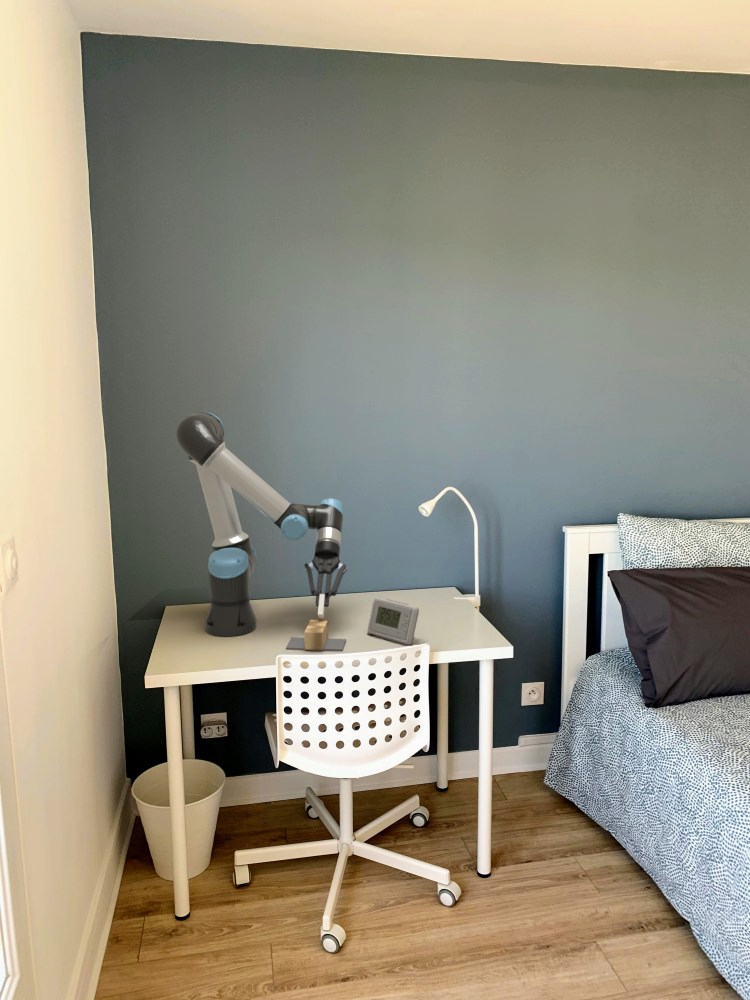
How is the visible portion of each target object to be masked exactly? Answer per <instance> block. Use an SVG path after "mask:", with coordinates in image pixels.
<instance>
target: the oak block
mask: <svg viewBox="0 0 750 1000" xmlns="http://www.w3.org/2000/svg"><path fill="white" fill-rule="evenodd" d="M328 621H329V620H327V619H326V620H325V619H310V620H309V622H308V625H307V626H306V628H305V629H304V638H305V649H312V650H311V651H320V650H323V648H324V645H325V643H326V640H327V638H329V635H328V634H329V629H328V628H329V627H328V626H329V624H328V623H329V622H328Z"/></svg>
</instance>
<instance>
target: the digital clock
mask: <svg viewBox="0 0 750 1000" xmlns="http://www.w3.org/2000/svg"><path fill="white" fill-rule="evenodd" d="M419 611H420V609H419V608H418V607H417V606H414V605H411V604H409V603H405V602H404V603H403V602H400V601H396V600H393V599H389V598H388V599H387V598H382V597H379V596H378V597H377V596H376V597H375V598H374V599H373V603H372V607H371V612H370V617H369V620H368V621H369V622H368V624H367V633H368V634H369V635H372V636H374V637H377V638H380V639H383V640H387V641H390V642H393V643H398V644H403V645H407V646H409V645H411V644H412V643H413V640H414V637H415V636H414V635H415V632H416V627H417V622H418V618H419V614H420V613H419Z"/></svg>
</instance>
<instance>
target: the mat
mask: <svg viewBox="0 0 750 1000" xmlns="http://www.w3.org/2000/svg"><path fill="white" fill-rule="evenodd" d="M346 642H347V638H329V637H328V638H327V640H326V643H325V645H324V648H323V650H319V651H320V652H322V651H326V652H327V651H329V652H343V651H344V648H345V645H346ZM289 649H290V650H289ZM285 650H289V651H291V650H292V651H293V650H294V651H298V650H299V651H313V650H312V649H305V637H290V640H289V641H288V643H287V645H286V647H285Z"/></svg>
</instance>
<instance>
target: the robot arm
mask: <svg viewBox="0 0 750 1000" xmlns="http://www.w3.org/2000/svg"><path fill="white" fill-rule="evenodd" d="M224 436H225V429H224V424H223V422H222V420H221V419H220V418H219V417H218V416H216V415H215V414H213V413H212V412H208V411H207V412H206V411H199V412H195V413H192V414H190V415H188V416H185V417H184V418H182V419H181V420H180V422H179V423H178V425H177V426H176V429H175V440H176V442H177V445H178V446H179V447H180V448H181V450H182V451H183V452H184V453H185V454H186V455H187V456H188V461H189V462H191V463H192V464H194V465H195V467H196V471H197V474H198V478H199V483H200V485H201V488H202V494H203V496H204V500H205V504H206V508H207V512H208V515H209V520H210V523H211V526H212V531H213V533H214V541H213V542H212V543H211V545H212V549H213V550H212V551H213V552H212V553H210V555H209V558H208V563H207V569H208V578H209V579H208V582H209V598H210V599H209V601H210V606H209V608H208V612H207V615H206V619H205V632H207V633H208V634H210V635H212V636H216V637H217V636H218V637H236V636H242V635H245V634H248V633H251V632H252V631H255V630H256V628H257V618H256V614H255V613H254V612H255V611H254V609H253V606H252V604H251V597H250V578H251V576H252V574H253V572H254V571H255V569H256V566H257V561H258V560H257V553H256V550H255V548H254V547H253V545H252V544H251V539H250V537H249V534H247V533H245V532H244V531H243V529H242V528H243V527H242V526H241V522H240V517H239V513H238V509H237V506H236V501H235V497H234V494H233V491H232V489H233V490H234V491H236V493H238V494H239V495H241V497H243V498H244V499H245V500H246V501H247V502H248V503H249V504H251V505H252V506H253V507H254V508H255V509H257V510H258V512H260V513H262V514H263V516H264V517H266V518H267V519H269V520H270V521H271V522H272V523H273V524H274V525H275V526H276V527H277V528H279V529H280V531H281V534H282V536H283V537H284V538H285V539H287V540H289V541H299V540H301V539H302V538H304V536H306V534H307V532H308V530H316V539H315V548H314V554H313V555H314V556H313V558H312V560H311V562H308V563H307V562H305V564H304V569H305V571H306V573H307V578H308V586H309V589H310V590H309V591H310V593H311V596H315V607H316V608H317V607H318V608H317V609H318V610H317V616H318V619H325V610H326V609H325V608H329V606H330V598H331V597H335V596H336V595H337V593H338V590H339V587H340V584H341V581H342V579H343V576H344V574H346V572H347V571H348V568H347V565H346V563H344V564H343V563H342V562H341V559H340V555H341V554H340V553H341V541H342V529H343V520H344V506H343V503H342V501H340V500H338V499H335V498H332V497H331V498H325V499H323V500H322V501H320V504H319V505H318V504H317V505H315V504H314V505H313V504H312V505H311V504H304V503H295V502H289V501H288V500H286V499H285V498H284V497H283V496H282V495H281V494H280V493H278V491H276V490H275V489H274V488H273V487H271V485H269V484H268V483H267V482H266V481H265V480H263V478H262V477H260V476H259V475H258V474H257V473H255V471H253V470H252V469H251V468H250V467H249V466H247V465H246V464H245V463H244V462H243V460H240V459H239V458H238V457H237V455H235V454H233V452H231V451H230V450H229V449H228V448H227V447H226V442H225V438H224ZM314 568H315V570H316V571H317V581H316V589H315V583H314V576H313V572H312V571H313V570H314ZM337 569H338V570H337ZM336 570H337V573H336V576H335V578H334V582H333V585H332V577H333V574H334V572H335V571H336ZM324 575H326V577H325V586H324V587H325V588H324V589H325V590H324V593H322V591H323V582H324Z"/></svg>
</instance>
